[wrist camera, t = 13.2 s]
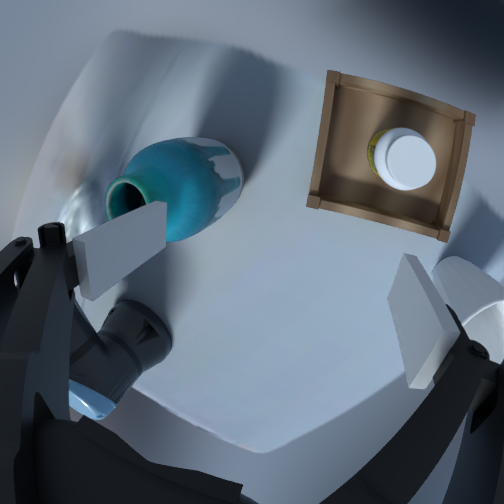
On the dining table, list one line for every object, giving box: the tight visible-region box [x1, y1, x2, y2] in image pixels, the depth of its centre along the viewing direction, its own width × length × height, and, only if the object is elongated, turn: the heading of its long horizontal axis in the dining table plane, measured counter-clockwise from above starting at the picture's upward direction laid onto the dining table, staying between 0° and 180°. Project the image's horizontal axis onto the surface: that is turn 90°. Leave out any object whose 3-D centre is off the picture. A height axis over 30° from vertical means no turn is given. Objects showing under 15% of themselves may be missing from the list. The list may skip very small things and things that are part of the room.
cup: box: [430, 256, 504, 364], centre depth 27 cm, size 12×12×16 cm
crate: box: [306, 70, 476, 243], centre depth 29 cm, size 18×16×5 cm
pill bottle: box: [367, 128, 436, 190], centre depth 25 cm, size 6×6×11 cm
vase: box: [105, 137, 244, 242], centre depth 30 cm, size 11×11×19 cm
